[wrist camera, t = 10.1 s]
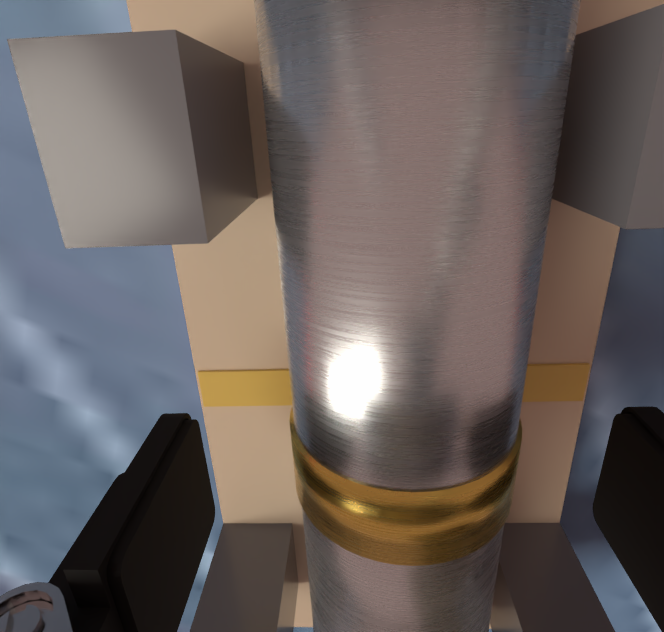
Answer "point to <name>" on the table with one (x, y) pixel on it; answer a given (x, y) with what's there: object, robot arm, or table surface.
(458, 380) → the tube
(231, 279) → the plate
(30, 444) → the table surface
